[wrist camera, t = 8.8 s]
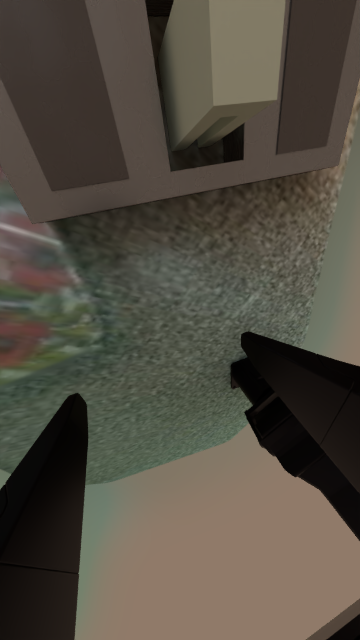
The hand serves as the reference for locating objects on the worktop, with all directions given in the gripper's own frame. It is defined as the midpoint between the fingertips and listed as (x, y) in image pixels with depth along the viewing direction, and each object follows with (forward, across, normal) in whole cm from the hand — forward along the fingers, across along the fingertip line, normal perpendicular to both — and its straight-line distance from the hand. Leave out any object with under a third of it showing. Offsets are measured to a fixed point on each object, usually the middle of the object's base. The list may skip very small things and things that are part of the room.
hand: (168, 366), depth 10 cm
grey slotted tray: (+12, -8, -13) cm, 19 cm away
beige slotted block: (+12, -8, -13) cm, 19 cm away
